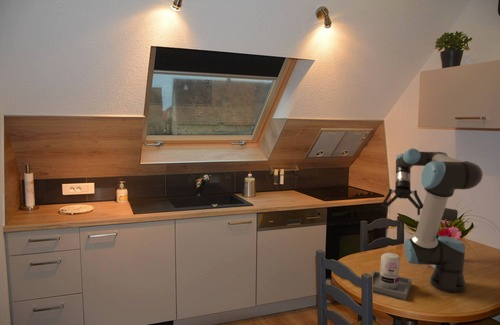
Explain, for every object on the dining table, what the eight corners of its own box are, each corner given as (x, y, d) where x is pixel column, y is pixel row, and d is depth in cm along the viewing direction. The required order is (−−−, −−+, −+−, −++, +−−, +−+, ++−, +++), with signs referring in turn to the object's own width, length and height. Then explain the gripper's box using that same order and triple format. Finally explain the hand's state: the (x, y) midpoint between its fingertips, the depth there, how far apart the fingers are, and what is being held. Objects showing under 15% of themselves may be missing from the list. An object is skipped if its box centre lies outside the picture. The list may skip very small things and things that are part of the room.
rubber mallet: (452, 259, 212) (457, 208, 208) (453, 263, 205) (458, 211, 201) (428, 255, 217) (432, 205, 213) (428, 259, 210) (433, 208, 206)
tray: (411, 285, 178) (411, 279, 178) (405, 300, 163) (406, 294, 163) (373, 276, 187) (373, 270, 187) (364, 290, 172) (364, 284, 172)
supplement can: (390, 280, 180) (392, 251, 178) (401, 288, 172) (403, 257, 170) (375, 282, 178) (377, 252, 176) (386, 290, 170) (388, 259, 168)
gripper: (427, 185, 200) (427, 223, 193) (378, 182, 208) (377, 219, 201) (429, 180, 194) (429, 220, 186) (378, 178, 202) (377, 215, 194)
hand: (402, 219), depth 193 cm, fingers open, 13 cm apart
